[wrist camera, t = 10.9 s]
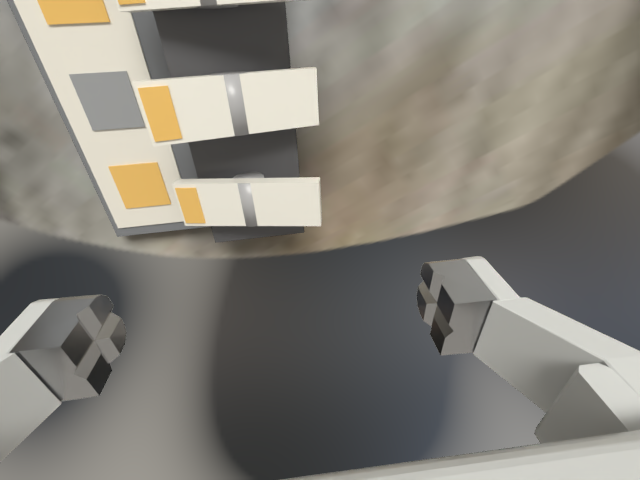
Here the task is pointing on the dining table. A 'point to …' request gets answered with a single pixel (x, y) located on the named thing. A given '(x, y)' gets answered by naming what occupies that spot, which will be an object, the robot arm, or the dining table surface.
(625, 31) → the dining table surface
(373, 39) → the dining table surface
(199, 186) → the switch
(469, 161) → the dining table surface
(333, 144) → the dining table surface
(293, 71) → the switch
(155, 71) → the switch unit
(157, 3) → the switch
